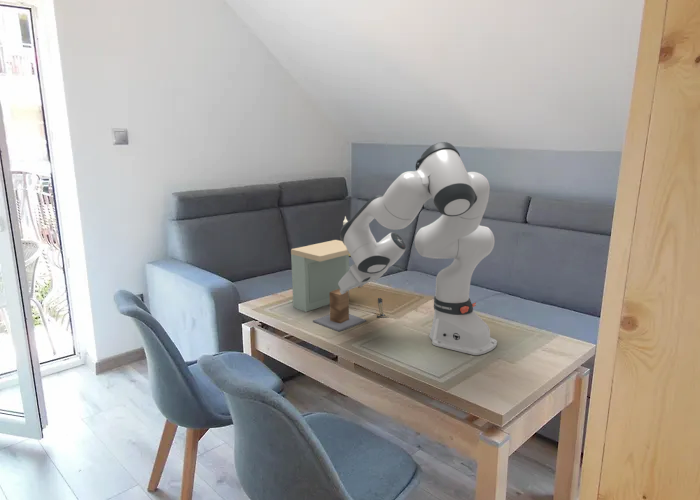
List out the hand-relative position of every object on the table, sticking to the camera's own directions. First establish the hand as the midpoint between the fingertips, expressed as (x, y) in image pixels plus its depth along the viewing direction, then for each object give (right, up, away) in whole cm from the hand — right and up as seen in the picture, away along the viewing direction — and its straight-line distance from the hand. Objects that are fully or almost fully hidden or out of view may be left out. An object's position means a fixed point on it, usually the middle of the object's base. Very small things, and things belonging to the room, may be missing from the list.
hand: (350, 289), depth 180 cm
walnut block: (-4, -12, +5) cm, 13 cm away
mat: (-4, -12, +5) cm, 14 cm away
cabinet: (-9, -8, +23) cm, 26 cm away
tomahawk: (+13, -10, +18) cm, 25 cm away
